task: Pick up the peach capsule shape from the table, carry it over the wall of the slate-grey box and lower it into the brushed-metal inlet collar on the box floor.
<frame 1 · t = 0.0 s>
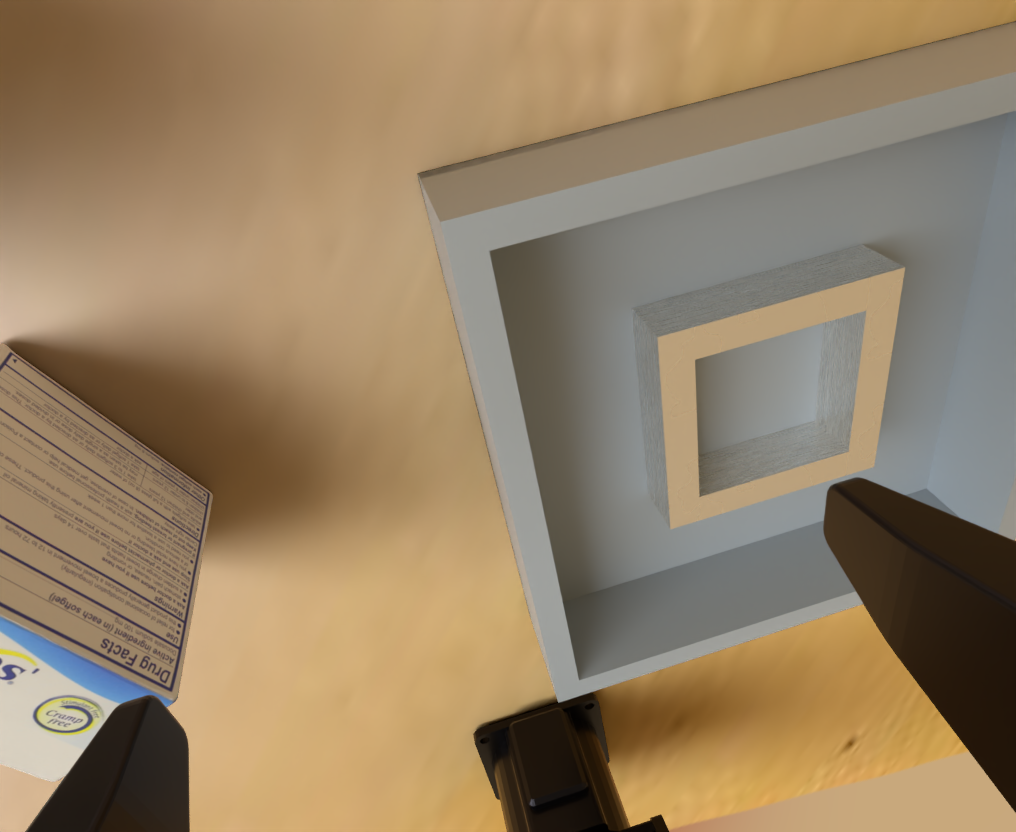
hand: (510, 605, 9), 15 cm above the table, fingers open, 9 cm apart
medicine box: (74, 454, 23), on the table
inlet box: (738, 370, 27), on the table
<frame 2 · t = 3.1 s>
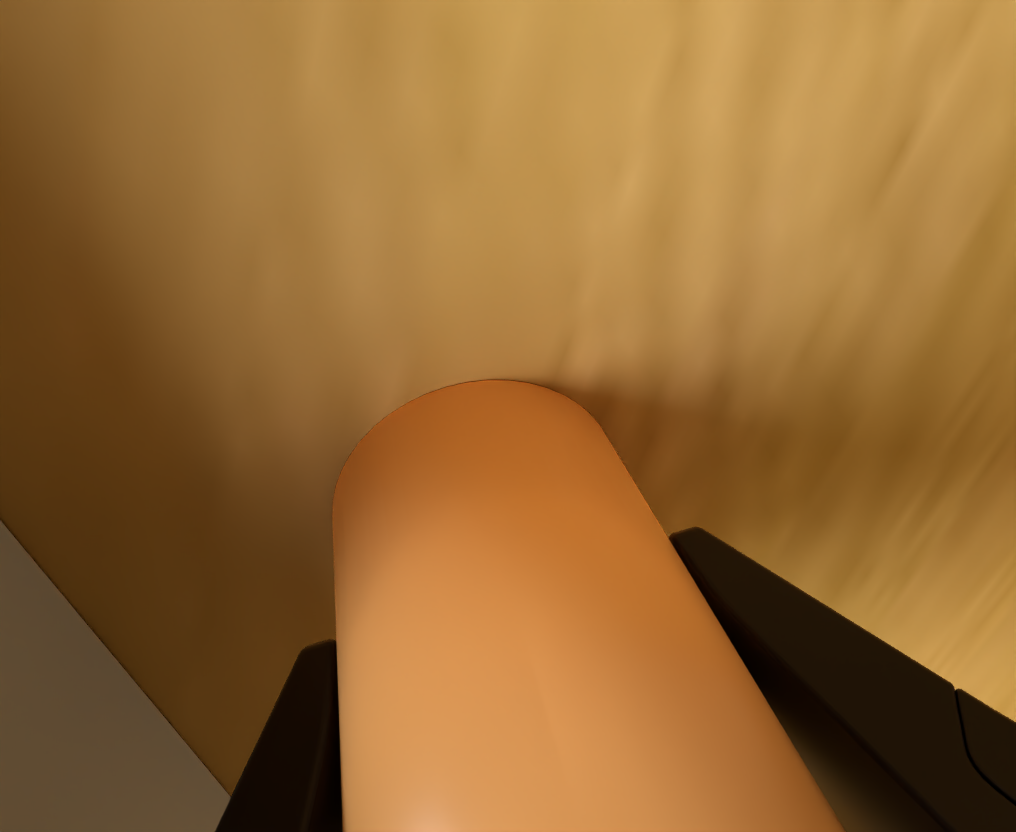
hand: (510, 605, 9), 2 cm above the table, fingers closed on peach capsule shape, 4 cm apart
peach capsule shape: (479, 504, 11), on the table, touching gripper
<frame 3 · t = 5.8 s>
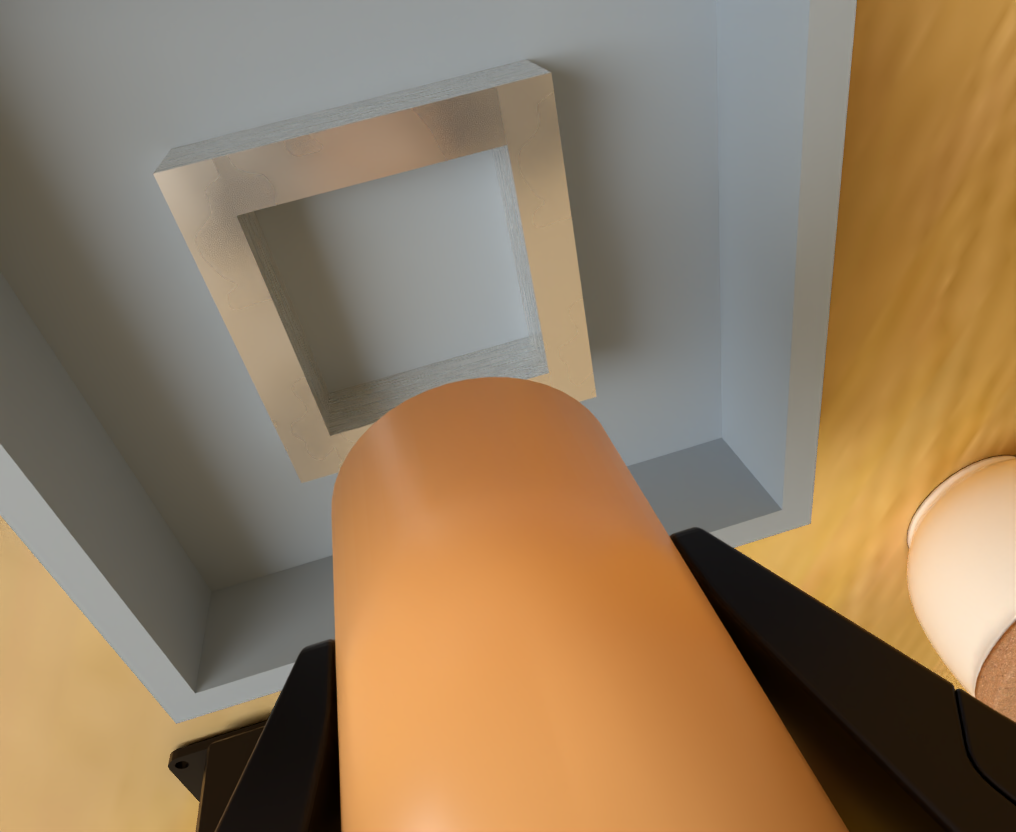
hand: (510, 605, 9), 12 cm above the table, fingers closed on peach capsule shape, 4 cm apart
peach capsule shape: (479, 502, 11), point 10 cm above the table, touching gripper
inlet box: (399, 261, 19), on the table
lidded jar: (966, 507, 31), on the table
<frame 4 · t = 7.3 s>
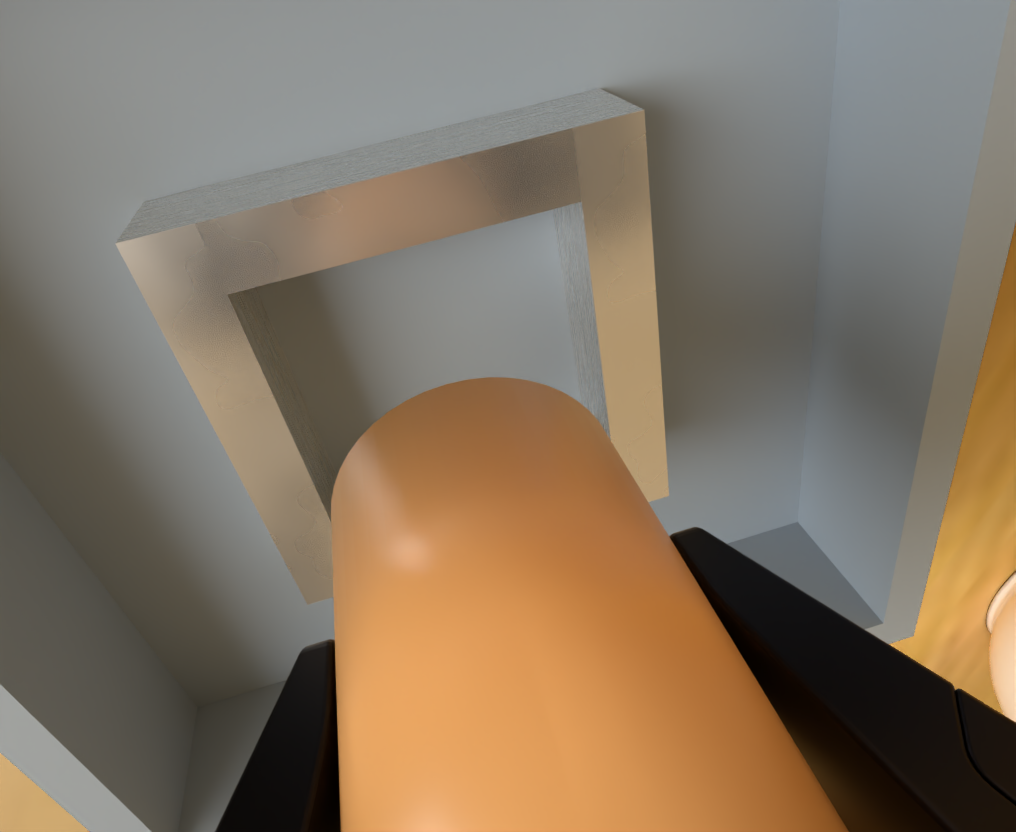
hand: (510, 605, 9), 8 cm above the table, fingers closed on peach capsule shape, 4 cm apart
peach capsule shape: (479, 503, 11), point 6 cm above the table, touching gripper
inlet box: (429, 330, 16), on the table
when the fingers open (4 cm above the table, at t = 8.6 s): peach capsule shape drops 1 cm, resting on inlet box.
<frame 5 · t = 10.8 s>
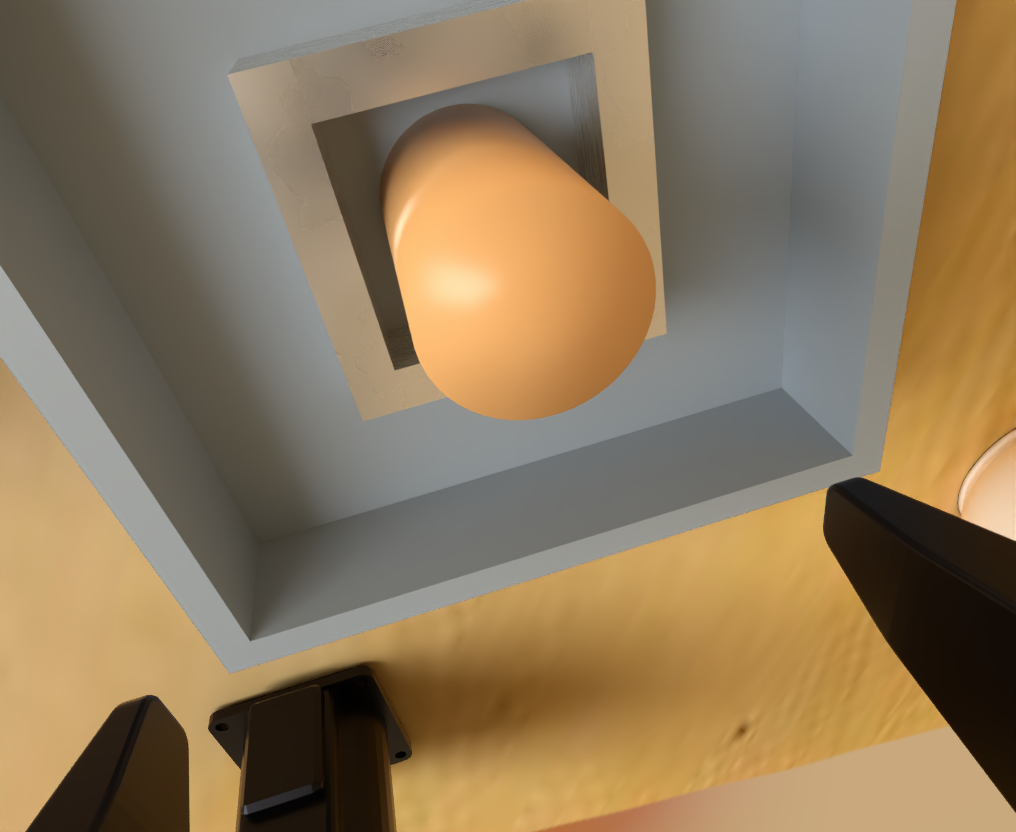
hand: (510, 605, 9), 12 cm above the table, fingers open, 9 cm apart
peach capsule shape: (467, 196, 18), point 1 cm above the table, touching inlet box
inlet box: (463, 191, 18), on the table
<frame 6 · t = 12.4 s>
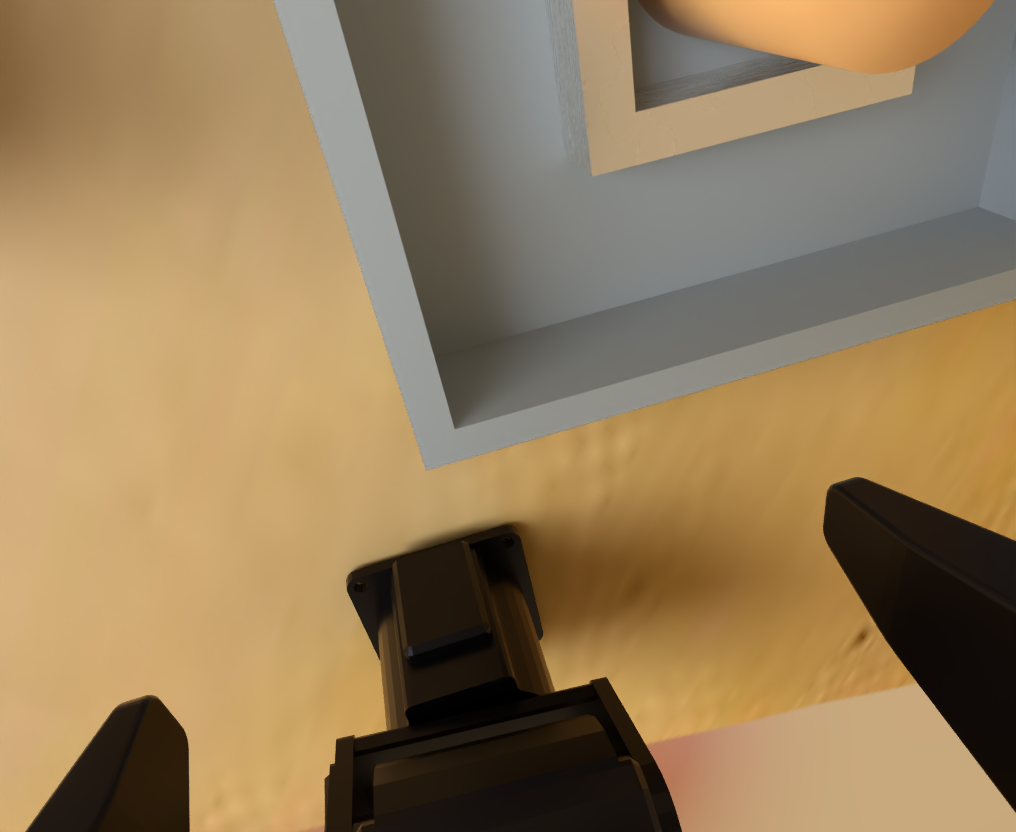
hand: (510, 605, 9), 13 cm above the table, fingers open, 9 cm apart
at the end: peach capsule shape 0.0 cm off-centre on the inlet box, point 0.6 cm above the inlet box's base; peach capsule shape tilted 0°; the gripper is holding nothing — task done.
